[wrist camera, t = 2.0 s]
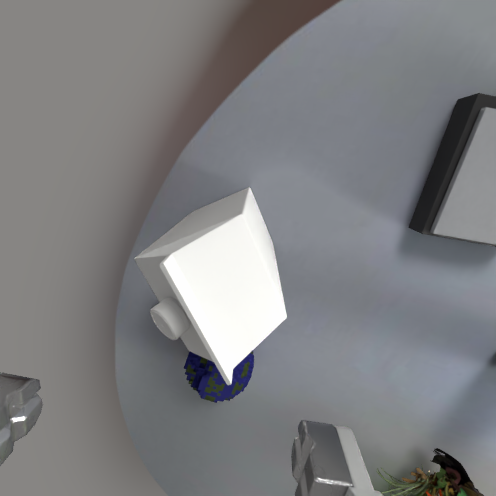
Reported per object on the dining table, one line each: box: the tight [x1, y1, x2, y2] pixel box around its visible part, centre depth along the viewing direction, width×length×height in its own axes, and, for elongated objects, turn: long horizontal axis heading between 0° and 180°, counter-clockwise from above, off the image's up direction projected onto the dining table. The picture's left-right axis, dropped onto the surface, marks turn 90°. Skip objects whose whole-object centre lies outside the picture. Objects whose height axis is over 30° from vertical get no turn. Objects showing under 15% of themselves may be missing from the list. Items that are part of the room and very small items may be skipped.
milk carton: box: [134, 187, 287, 385], centre depth 21 cm, size 7×7×19 cm
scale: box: [409, 93, 496, 247], centre depth 26 cm, size 13×11×3 cm
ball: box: [184, 350, 254, 403], centre depth 32 cm, size 8×8×8 cm
